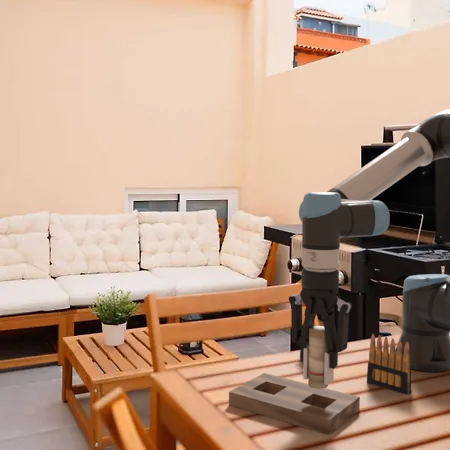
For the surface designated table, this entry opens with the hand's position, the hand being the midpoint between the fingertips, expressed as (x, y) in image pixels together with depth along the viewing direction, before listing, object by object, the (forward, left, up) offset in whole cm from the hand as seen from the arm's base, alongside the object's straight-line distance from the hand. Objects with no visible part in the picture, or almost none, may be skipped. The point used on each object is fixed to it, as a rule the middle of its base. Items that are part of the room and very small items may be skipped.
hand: (318, 379), depth 125 cm
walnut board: (0, -6, -8) cm, 10 cm away
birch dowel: (0, 0, -1) cm, 1 cm away
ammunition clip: (-23, +6, -8) cm, 25 cm away
